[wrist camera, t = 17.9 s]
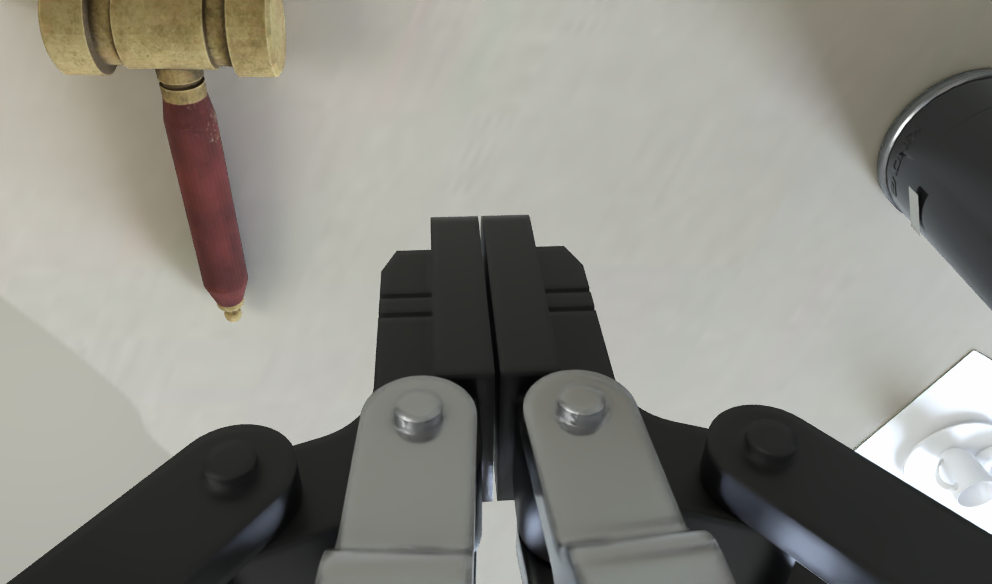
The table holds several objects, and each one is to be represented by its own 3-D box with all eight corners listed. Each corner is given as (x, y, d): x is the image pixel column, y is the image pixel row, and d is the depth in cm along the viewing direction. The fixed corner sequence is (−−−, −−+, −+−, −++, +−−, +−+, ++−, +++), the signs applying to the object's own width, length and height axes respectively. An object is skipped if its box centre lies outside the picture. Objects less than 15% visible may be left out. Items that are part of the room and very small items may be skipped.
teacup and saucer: (1029, 440, 65) (1061, 480, 61) (950, 499, 68) (977, 540, 65) (958, 404, 61) (988, 445, 58) (879, 468, 65) (903, 509, 62)
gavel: (312, 343, 49) (141, 346, 48) (319, 294, 52) (160, 296, 52) (264, -3, 35) (24, -8, 34) (278, -39, 39) (60, -44, 38)
